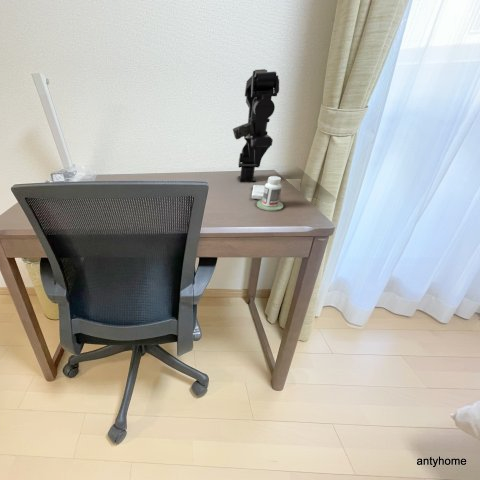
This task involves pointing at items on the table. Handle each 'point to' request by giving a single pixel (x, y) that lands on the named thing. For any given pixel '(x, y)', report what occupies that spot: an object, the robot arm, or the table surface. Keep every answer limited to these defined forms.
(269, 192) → the pill bottle
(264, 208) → the coaster
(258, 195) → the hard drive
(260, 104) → the robot arm
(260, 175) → the table surface
